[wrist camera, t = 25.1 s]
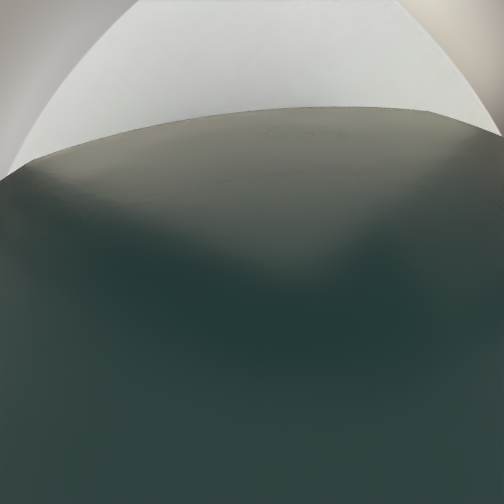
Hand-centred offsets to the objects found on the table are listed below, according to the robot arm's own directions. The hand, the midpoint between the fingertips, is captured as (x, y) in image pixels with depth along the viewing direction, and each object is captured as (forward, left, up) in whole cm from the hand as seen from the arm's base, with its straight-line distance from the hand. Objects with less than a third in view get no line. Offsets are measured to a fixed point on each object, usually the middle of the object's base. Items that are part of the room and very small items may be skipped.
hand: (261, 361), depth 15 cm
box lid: (-6, +5, +12) cm, 14 cm away
